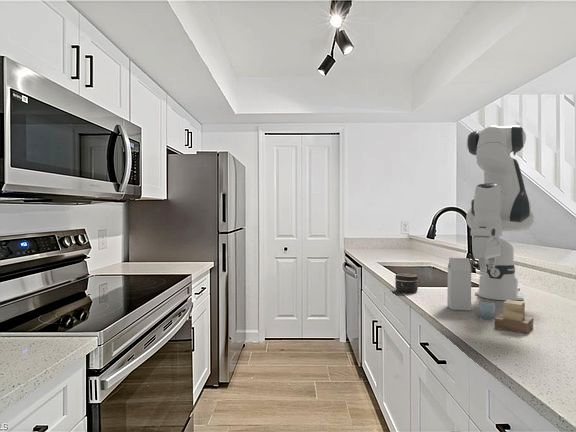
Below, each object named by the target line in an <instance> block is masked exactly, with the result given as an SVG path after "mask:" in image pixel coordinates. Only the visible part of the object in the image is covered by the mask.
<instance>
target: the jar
mask: <svg viewBox="0 0 576 432" xmlns="http://www.w3.org/2000/svg"><path fill="white" fill-rule="evenodd" d="M394 277H395V278H394V279H395V285H394V287H395V290H396V292H397V293H401V294H416V293H417V292H418V288H419V275H418V274H413V273H395V276H394Z"/></svg>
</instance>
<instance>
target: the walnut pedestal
mask: <svg viewBox="0 0 576 432" xmlns="http://www.w3.org/2000/svg"><path fill="white" fill-rule="evenodd" d="M533 328H534V317H531V316H525V318H524V319H523V320H522V321H518V320H511V319H504V318H503V313H500V314H499V315H498V316H495V319H494V329H499V330H503V331H510V332H514V333H515V332H517V333H522V334H528V333H529V332H530V331H531V330H532V329H533Z"/></svg>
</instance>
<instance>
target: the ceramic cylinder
mask: <svg viewBox="0 0 576 432" xmlns="http://www.w3.org/2000/svg"><path fill="white" fill-rule="evenodd" d="M478 306H479V315H478V317H479V319H481V320H482V319H483V320H495V318H496V303H494V302H490V301H480V302H479V305H478Z"/></svg>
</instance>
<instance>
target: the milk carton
mask: <svg viewBox="0 0 576 432" xmlns="http://www.w3.org/2000/svg"><path fill="white" fill-rule="evenodd" d="M448 259H449V260H448V263H447V300H446V301H447V303H446V304H447V307H448V308H449V309H450V310H451V311H452V310H453V311H472V267H471V263H470V258H468V257H449V258H448Z"/></svg>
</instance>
